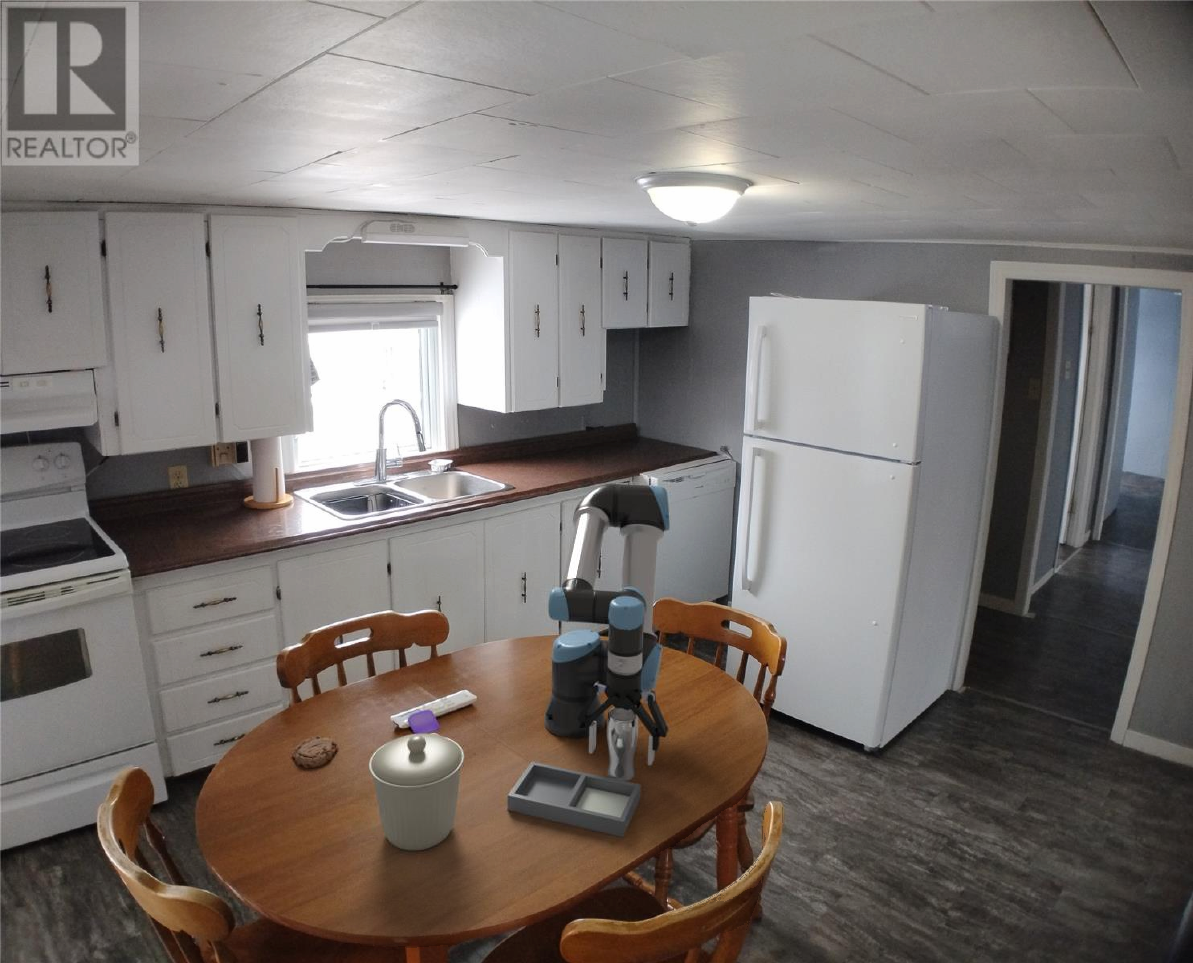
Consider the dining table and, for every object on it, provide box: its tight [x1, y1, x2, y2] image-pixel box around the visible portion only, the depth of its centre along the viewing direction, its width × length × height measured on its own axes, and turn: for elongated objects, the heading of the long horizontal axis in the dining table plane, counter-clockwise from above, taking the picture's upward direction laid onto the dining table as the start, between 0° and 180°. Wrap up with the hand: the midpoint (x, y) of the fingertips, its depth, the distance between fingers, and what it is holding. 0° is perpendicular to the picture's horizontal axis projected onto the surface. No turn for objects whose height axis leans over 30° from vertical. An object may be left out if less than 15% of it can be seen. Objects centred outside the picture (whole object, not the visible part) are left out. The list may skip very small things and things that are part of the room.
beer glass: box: [606, 706, 639, 782], centre depth 179 cm, size 7×7×15 cm
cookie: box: [291, 735, 339, 769], centre depth 185 cm, size 10×11×3 cm
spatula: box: [407, 709, 441, 735], centre depth 192 cm, size 24×7×2 cm, turn 33°
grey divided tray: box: [507, 761, 641, 838], centre depth 169 cm, size 25×13×4 cm, turn 72°
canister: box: [368, 733, 465, 851], centre depth 157 cm, size 18×18×21 cm
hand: (621, 755), depth 180 cm, fingers open, 13 cm apart
